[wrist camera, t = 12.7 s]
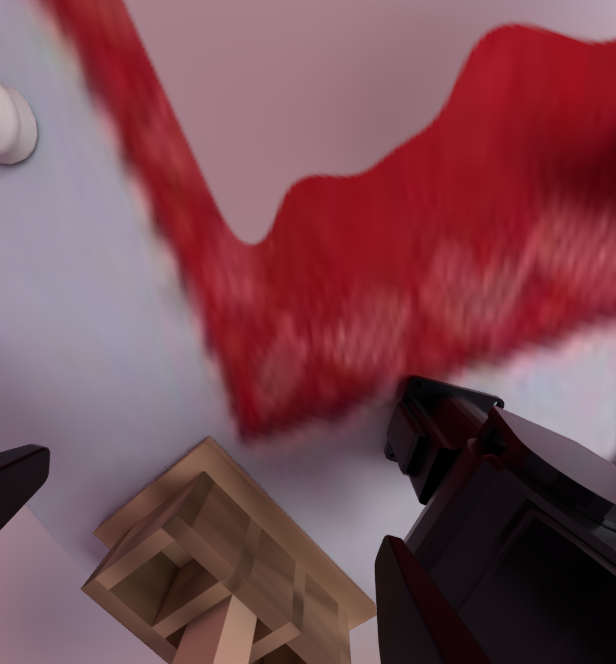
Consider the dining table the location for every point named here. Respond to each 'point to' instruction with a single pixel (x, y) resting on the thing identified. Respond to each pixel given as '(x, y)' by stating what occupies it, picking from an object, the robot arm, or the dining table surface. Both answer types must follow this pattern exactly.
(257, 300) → the dining table surface
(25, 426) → the dining table surface
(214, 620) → the tan rectangular block
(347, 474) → the dining table surface
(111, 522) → the wooden compartment tray
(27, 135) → the rook chess piece
